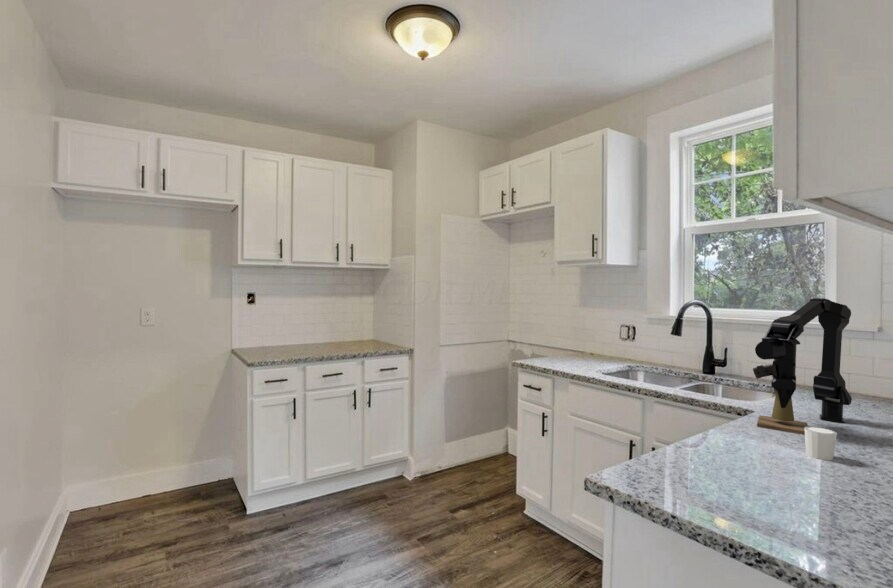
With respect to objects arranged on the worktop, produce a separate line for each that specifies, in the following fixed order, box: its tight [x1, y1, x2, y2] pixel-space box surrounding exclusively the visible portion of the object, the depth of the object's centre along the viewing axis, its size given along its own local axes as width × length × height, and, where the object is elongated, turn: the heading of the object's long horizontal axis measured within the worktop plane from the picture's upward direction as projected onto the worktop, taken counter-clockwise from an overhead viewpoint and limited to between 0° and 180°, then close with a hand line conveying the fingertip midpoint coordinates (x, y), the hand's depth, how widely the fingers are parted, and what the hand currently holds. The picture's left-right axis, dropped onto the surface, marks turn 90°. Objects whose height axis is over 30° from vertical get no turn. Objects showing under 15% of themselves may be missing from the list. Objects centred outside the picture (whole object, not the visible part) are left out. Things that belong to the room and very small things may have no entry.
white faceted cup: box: [804, 426, 838, 461], centre depth 124 cm, size 7×7×7 cm
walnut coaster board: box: [756, 415, 809, 436], centre depth 152 cm, size 13×13×1 cm
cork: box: [771, 388, 795, 421], centre depth 152 cm, size 6×6×11 cm
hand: (783, 406), depth 152 cm, fingers closed on cork, 4 cm apart
